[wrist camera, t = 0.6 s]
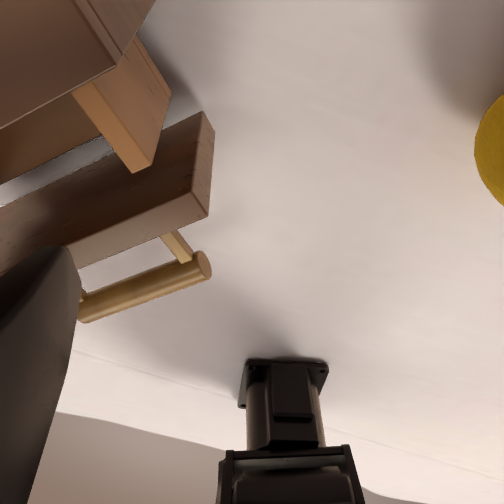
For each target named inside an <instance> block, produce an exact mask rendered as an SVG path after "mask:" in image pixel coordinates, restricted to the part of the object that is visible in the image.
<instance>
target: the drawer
mask: <svg viewBox="0 0 504 504" xmlns="http://www.w3.org/2000/svg"><path fill="white" fill-rule="evenodd" d="M171 94H172V92H171V90H170V89H169V87H168V86H167V84H166V82H165V81H164V79H163V77H162V76H161V74H160V72H159V71H158V69H157V67H156V66H155V64H154V62H153V61H152V59H151V57H150V56H149V54H148V52H147V51H146V49H145V48H144V46H143V44H142V43H141V41H140V39H139V38H138V36H137V34H135V36H134V38H133V39H132V41H131V43H130V44H129V46H128V48H127V50H126V51H125V53H124V55H123V56H122V58H121V60H120V62H119V64H118V65H117V67H116V68H114V69H113V70H111V71H109V72H107V73H105V74H103V75H101V76H100V77H98V78H96V79H94V80H92V81H90V82H89V83H87V84H85V85H83V86H81V87H79V88H78V89H76V90H74V91H72V92H70V93H68V94H66V95H65V96H63V97H61V98H59V99H57V100H55V101H54V102H52V103H50V104H48V105H46V106H44V107H43V108H41V109H39V110H37V111H35V112H33V113H31V114H30V115H28V116H26V117H24V118H22V119H20V120H19V121H17V122H15V123H13V124H11V125H9V126H8V127H6V128H4V129H2V130H0V185H1V184H3V183H5V182H7V181H9V180H11V179H13V178H15V177H17V176H19V175H21V174H23V173H25V172H27V171H29V170H31V169H33V168H35V167H37V166H39V165H41V164H43V163H46V162H48V161H50V160H52V159H54V158H56V157H58V156H60V155H62V154H64V153H66V152H68V151H70V150H72V149H74V148H76V147H78V146H80V145H82V144H84V143H86V142H88V141H90V140H92V139H94V138H96V137H98V136H100V135H103V136H104V138H105V139H106V140H107V142H108V143H109V144H110V145H111V147H112V148H113V149H114V151H115V153H113V154H111V155H109V156H107V157H105V158H103V159H101V160H99V161H97V162H95V163H93V164H91V165H88V166H86V167H84V168H82V169H80V170H78V171H76V172H74V173H72V174H70V175H68V176H66V177H63V178H61V179H59V180H57V181H55V182H53V183H51V184H49V185H47V186H45V187H43V188H41V189H38V190H36V191H34V192H32V193H30V194H28V195H26V196H24V197H22V198H20V199H18V200H16V201H14V202H11V203H9V204H7V205H5V206H3V207H1V208H0V276H1V275H3V274H4V273H5V272H7V271H8V270H9V269H11V268H12V267H13V266H15V265H16V264H17V263H19V262H20V261H22V260H23V259H24V258H26V257H27V256H28V255H30V254H31V253H32V252H34V251H35V250H36V249H38V248H40V247H42V246H65V247H67V248H68V249H69V251H70V253H71V255H72V258H73V261H74V263H75V266H76V269H77V270H78V269H80V268H83V267H85V266H87V265H90V264H92V263H95V262H97V261H100V260H102V259H105V258H107V257H110V256H112V255H115V254H117V253H120V252H122V251H124V250H127V249H129V248H132V247H134V246H137V245H139V244H142V243H144V242H147V241H149V240H152V239H154V238H157V237H160V238H161V239H162V240H163V242H164V243H165V244H166V245H167V247H168V248H169V249H170V250H171V252H172V253H173V254H174V255H175V257H176V258H177V259H175V260H172V261H170V262H167V263H165V264H162V265H159V266H157V267H154V268H152V269H149V270H146V271H144V272H141V273H139V274H136V275H133V276H131V277H128V278H126V279H123V280H120V281H118V282H115V283H113V284H110V285H107V286H105V287H102V288H100V289H97V290H94V291H92V292H89V293H87V294H86V291H84V290H83V289H82V288H81V297H80V303H79V308H78V314H77V319H78V320H79V321H80V322H82V323H90V322H92V321H95V320H98V319H101V318H103V317H106V316H109V315H112V314H114V313H117V312H120V311H123V310H126V309H128V308H131V307H134V306H137V305H139V304H142V303H145V302H148V301H150V300H153V299H156V298H159V297H161V296H164V295H167V294H170V293H172V292H175V291H178V290H181V289H184V288H186V287H189V286H192V285H195V284H197V283H200V282H203V281H206V280H208V279H210V278H211V276H212V270H211V265H210V262H209V260H208V258H207V256H206V255H205V254H204V253H203V252H202V251H196V252H193V250H192V249H191V248H190V246H189V245H188V244H187V242H186V241H185V240H184V238H183V237H182V236H181V234H180V233H179V232H178V230H177V229H179V228H181V227H184V226H186V225H189V224H191V223H194V222H196V221H198V220H201V219H203V218H206V217H208V214H209V202H210V189H211V177H212V165H213V152H214V140H215V131H214V129H213V128H212V126H211V124H210V122H209V121H208V119H207V117H206V115H205V114H204V112H203V111H201V112H199V113H197V114H195V115H192V116H190V117H188V118H186V119H184V120H182V121H180V122H178V123H176V124H174V125H172V126H170V127H168V128H165V129H163V130H162V127H163V123H164V120H165V116H166V112H167V109H168V105H169V102H170V98H171Z"/></svg>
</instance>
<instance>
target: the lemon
mask: <svg viewBox="0 0 504 504" xmlns="http://www.w3.org/2000/svg"><path fill="white" fill-rule="evenodd" d="M474 156H475V160H476V164H477V168H478V172H479V174H480V177H481V179H482V181H483V182H484V184H485V185H486V187H487V188H488V189H489V191H490V192H491V194H492V195H493V196H494V197H495V199H496V200H497V201H498V202H499V203H501V204H502V205H503V206H504V94H503V95H502V96H500V97H499V98H498V99H497V100H496V101H495V102H494V103H493V104H492V106H491V107H490V108H489V109H488V110H487V112H486V114H485V115H484V117H483V119H482V120H481V122H480V125H479V128H478V131H477V133H476V137H475V148H474Z"/></svg>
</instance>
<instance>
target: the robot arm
mask: <svg viewBox="0 0 504 504" xmlns="http://www.w3.org/2000/svg"><path fill="white" fill-rule="evenodd" d="M80 297H81V280H80V277H79V274H78V271H77V269H76V266H75V263H74V261H73V258H72V255H71V253H70V251H69V249H68V248H67V247H65V246H42V247H40V248H38V249H36V250H35V251H34V252H32V253H31V254H30V255H28V256H27V257H26V258H24V259H23V260H22V261H20V262H19V263H17V264H16V265H15V266H13V267H12V268H11V269H9V270H8V271H7V272H5V273H4V274H3V275H1V276H0V504H27V502H28V499H29V495H30V492H31V489H32V485H33V482H34V479H35V476H36V472H37V469H38V465H39V462H40V459H41V456H42V453H43V449H44V446H45V443H46V439H47V436H48V433H49V430H50V426H51V423H52V420H53V417H54V413H55V410H56V407H57V404H58V400H59V397H60V394H61V390H62V387H63V384H64V380H65V376H66V373H67V369H68V364H69V359H70V353H71V348H72V342H73V337H74V331H75V325H76V320H77V314H78V308H79V303H80ZM328 373H329V368H328V365H327V364H324V363H304V362H283V361H262V360H248V361H246V362H245V364H244V370H243V375H242V381H241V386H240V392H239V397H238V407H239V408H241V409H246V425H247V451H234V450H226V458H225V459H224V460H222V461H220V462H219V471H218V474H219V475H218V490H217V498H216V504H365V501H364V497H363V493H362V489H361V486H360V482H359V478H358V475H357V471H356V467H355V464H354V460H353V456H352V453H351V449H350V446H349V444H344V445H341V446H331V447H326V443H325V436H324V430H323V423H322V417H321V410H320V403H319V395H320V392H321V390H322V387H323V385H324V382H325V380H326V377H327V375H328Z"/></svg>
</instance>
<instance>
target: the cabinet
mask: <svg viewBox="0 0 504 504" xmlns="http://www.w3.org/2000/svg"><path fill="white" fill-rule="evenodd" d="M154 2H155V0H0V130H2V129H4V128H6V127H8V126H9V125H11V124H13V123H15V122H17V121H19V120H20V119H22V118H24V117H26V116H28V115H30V114H31V113H33V112H35V111H37V110H39V109H41V108H43V107H44V106H46V105H48V104H50V103H52V102H54V101H55V100H57V99H59V98H61V97H63V96H65V95H66V94H68V93H70V92H72V91H74V90H76V89H78V88H79V87H81V86H83V85H85V84H87V83H89V82H90V81H92V80H94V79H96V78H98V77H100V76H101V75H103V74H105V73H107V72H109V71H111V70H113V69H114V68H116V67H117V65H118V64H119V62H120V60H121V58H122V56H123V55H124V53H125V51H126V50H127V48H128V46H129V44H130V43H131V41H132V39H133V38H134V36H135V34H136V33H137V31H138V29H139V27H140V26H141V24H142V22H143V21H144V19H145V17H146V15H147V14H148V12H149V10H150V9H151V7H152V5H153V4H154Z"/></svg>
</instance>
